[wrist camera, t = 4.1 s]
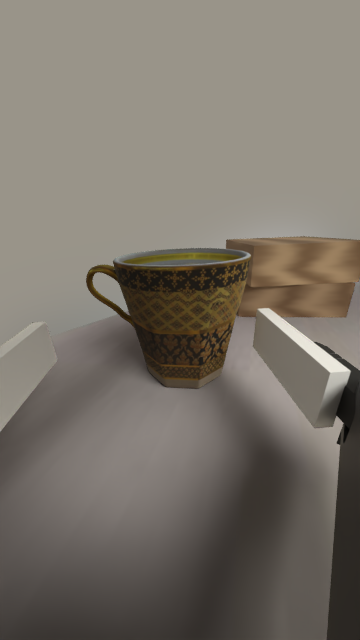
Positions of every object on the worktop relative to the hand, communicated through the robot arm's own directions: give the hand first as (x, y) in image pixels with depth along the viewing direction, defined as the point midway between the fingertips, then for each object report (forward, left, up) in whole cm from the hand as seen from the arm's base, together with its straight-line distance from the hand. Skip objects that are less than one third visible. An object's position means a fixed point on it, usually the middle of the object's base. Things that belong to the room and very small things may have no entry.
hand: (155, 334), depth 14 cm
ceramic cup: (0, -5, -6) cm, 8 cm away
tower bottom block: (-15, -24, -6) cm, 29 cm away
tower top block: (-15, -24, -1) cm, 28 cm away
